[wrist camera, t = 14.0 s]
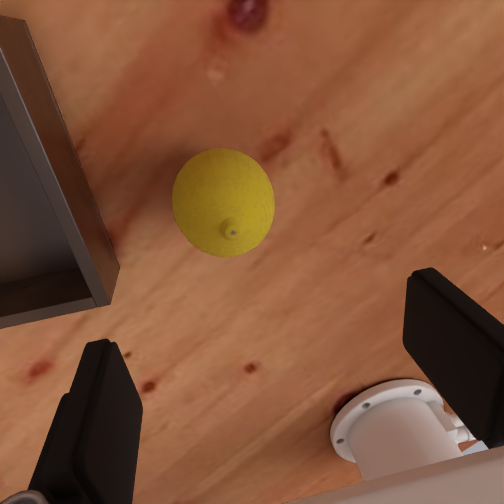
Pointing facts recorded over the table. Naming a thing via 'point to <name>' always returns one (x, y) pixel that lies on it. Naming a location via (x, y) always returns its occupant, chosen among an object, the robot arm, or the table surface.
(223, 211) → the lemon
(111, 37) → the table surface
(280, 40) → the table surface
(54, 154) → the dark wooden tray
